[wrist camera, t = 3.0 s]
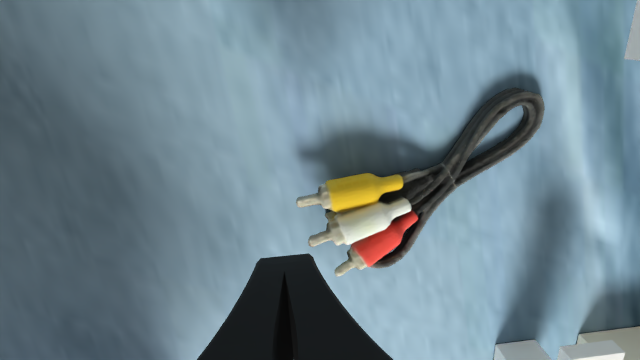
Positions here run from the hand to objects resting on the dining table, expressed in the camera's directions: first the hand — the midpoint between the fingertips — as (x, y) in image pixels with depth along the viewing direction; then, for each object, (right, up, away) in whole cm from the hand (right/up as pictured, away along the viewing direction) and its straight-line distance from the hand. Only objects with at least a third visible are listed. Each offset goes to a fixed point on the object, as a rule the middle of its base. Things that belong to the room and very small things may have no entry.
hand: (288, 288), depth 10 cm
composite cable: (+5, +3, +6) cm, 8 cm away
